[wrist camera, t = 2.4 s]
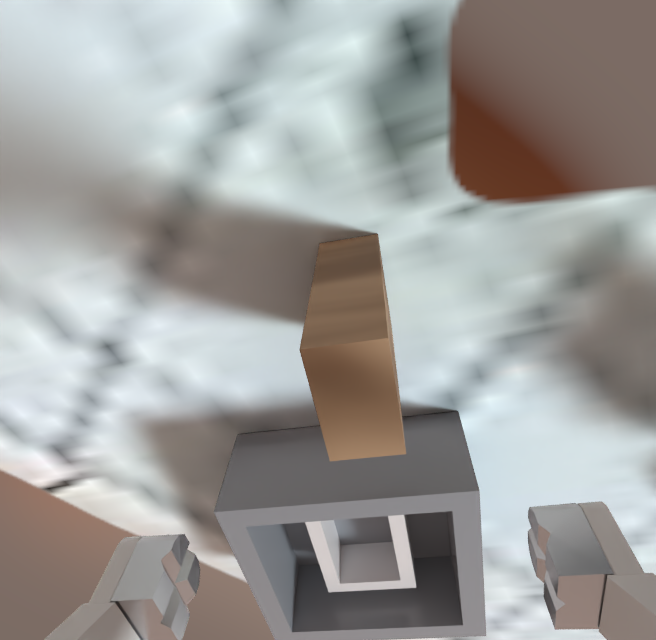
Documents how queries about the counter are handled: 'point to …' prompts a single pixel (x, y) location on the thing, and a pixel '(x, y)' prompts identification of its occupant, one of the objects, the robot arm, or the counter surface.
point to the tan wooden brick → (352, 352)
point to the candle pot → (358, 534)
